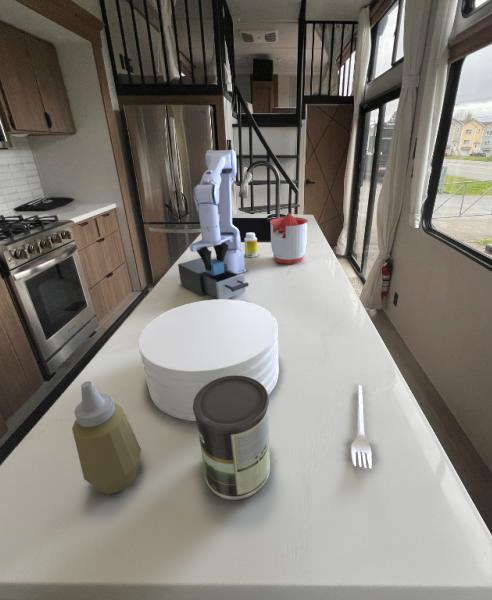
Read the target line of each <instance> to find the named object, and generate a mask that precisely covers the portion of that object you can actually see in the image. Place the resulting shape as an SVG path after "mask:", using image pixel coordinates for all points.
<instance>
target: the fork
mask: <svg viewBox="0 0 492 600" xmlns="http://www.w3.org/2000/svg"><path fill="white" fill-rule="evenodd" d="M363 400H364V398H363V385H362V384H358V385H357V437H356V438H355V439H354V440H353V442H351V446H350V457H351V461H352V465H353V466H354V467H357V461H358V466H359V468H362V463H363V468H364V469H367V466H368V469H369V470H371V469H372V461H373V460H372V456H373V455H372V454H373V453H372V447H371V445H370V443H369V441H368V440H367V438H366V436H365V418H364V417H365V415H364V401H363ZM361 456H362V457H361ZM356 460H357V461H356Z"/></svg>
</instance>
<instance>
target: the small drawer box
mask: <svg viewBox="0 0 492 600" xmlns="http://www.w3.org/2000/svg"><path fill="white" fill-rule="evenodd" d="M212 259H213V258H211V260H212ZM177 267H178V274H179V280H180V286H182V287H184V288H186V289H187V290H188V291H189V290H190V291H191V292H193V293H195V294H197V295H199V296H201V297H203V296H206V295H209V294H208V293H206V292H204V291H203V287H202V279H201V275H203V274H206V273H207V272H206V271H205V265H204V262H203V260H202V258H201V257H199V258H196V259H191V260H188V261H185V262H180V263H177ZM224 269H227V270H228V266H227V264H224Z"/></svg>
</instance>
